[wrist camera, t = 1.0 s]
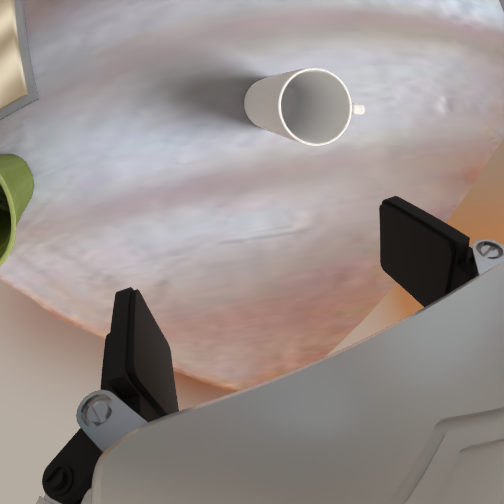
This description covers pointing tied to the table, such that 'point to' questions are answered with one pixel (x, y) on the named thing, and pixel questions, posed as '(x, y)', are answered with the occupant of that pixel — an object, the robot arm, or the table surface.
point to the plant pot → (12, 199)
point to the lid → (10, 57)
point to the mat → (26, 64)
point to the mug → (302, 105)
